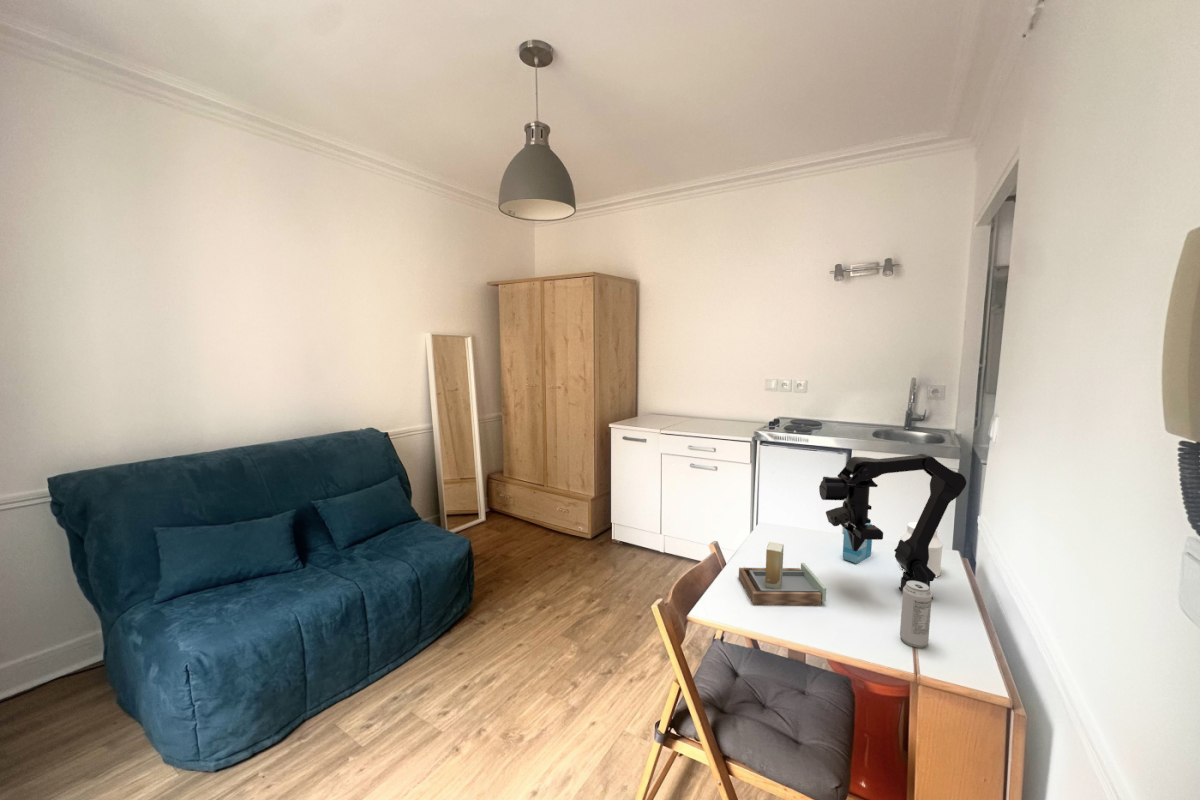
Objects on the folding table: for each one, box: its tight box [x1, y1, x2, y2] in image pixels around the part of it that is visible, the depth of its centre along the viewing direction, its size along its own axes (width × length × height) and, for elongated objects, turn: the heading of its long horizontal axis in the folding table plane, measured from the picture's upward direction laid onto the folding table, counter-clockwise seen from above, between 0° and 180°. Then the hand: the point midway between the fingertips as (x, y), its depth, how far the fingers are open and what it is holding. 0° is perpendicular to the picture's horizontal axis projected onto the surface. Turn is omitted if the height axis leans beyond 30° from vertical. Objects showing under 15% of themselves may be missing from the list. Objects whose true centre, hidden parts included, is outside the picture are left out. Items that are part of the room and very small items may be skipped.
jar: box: [898, 521, 944, 578], centre depth 160 cm, size 12×10×15 cm
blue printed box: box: [842, 523, 873, 564], centre depth 169 cm, size 12×4×12 cm, turn 128°
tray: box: [749, 562, 827, 603], centre depth 147 cm, size 18×16×4 cm
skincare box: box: [765, 541, 785, 589], centre depth 146 cm, size 6×4×12 cm
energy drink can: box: [899, 581, 933, 649], centre depth 121 cm, size 6×6×15 cm
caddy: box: [738, 567, 822, 607], centre depth 147 cm, size 19×16×4 cm
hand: (854, 550), depth 145 cm, fingers closed
